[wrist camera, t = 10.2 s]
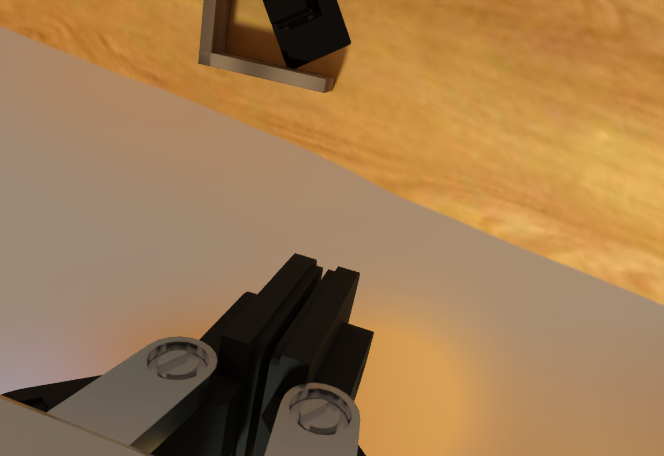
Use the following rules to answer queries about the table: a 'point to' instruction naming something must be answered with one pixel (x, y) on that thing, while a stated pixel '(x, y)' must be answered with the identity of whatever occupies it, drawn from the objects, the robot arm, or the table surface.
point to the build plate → (307, 29)
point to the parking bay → (216, 56)
